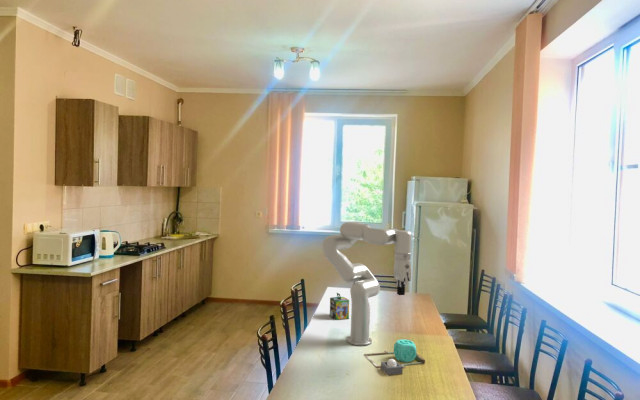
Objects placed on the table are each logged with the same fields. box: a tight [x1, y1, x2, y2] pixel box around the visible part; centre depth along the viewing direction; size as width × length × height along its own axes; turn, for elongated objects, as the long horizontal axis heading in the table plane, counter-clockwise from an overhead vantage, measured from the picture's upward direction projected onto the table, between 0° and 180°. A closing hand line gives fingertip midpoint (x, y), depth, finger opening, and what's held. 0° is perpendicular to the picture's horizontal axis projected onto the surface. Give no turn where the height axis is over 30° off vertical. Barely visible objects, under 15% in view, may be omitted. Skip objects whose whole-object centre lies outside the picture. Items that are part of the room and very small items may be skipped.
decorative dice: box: [393, 338, 418, 363], centre depth 208 cm, size 8×8×8 cm
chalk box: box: [329, 292, 350, 321], centre depth 269 cm, size 9×9×15 cm
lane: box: [363, 349, 426, 369], centre depth 207 cm, size 20×24×2 cm
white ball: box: [387, 358, 397, 367], centre depth 194 cm, size 4×4×4 cm
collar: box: [380, 359, 404, 376], centre depth 194 cm, size 7×7×3 cm
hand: (400, 294), depth 212 cm, fingers closed
